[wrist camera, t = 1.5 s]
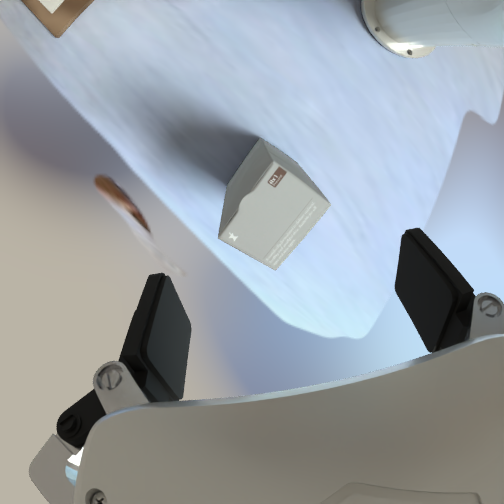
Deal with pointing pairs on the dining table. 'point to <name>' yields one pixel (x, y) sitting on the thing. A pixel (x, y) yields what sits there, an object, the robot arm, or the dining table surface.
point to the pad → (51, 4)
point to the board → (58, 14)
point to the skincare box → (269, 206)
